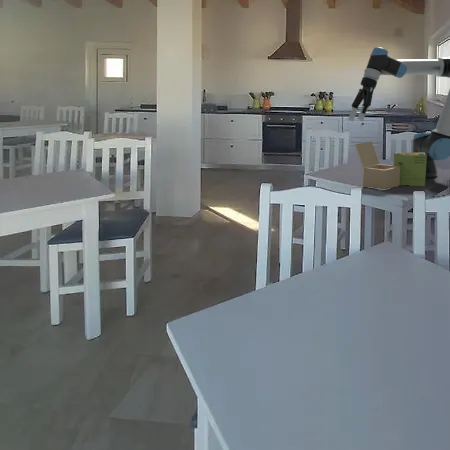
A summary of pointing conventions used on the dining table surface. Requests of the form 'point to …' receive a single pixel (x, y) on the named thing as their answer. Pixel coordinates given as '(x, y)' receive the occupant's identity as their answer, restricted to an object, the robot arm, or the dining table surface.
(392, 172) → the carton
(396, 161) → the protein box
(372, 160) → the lid
